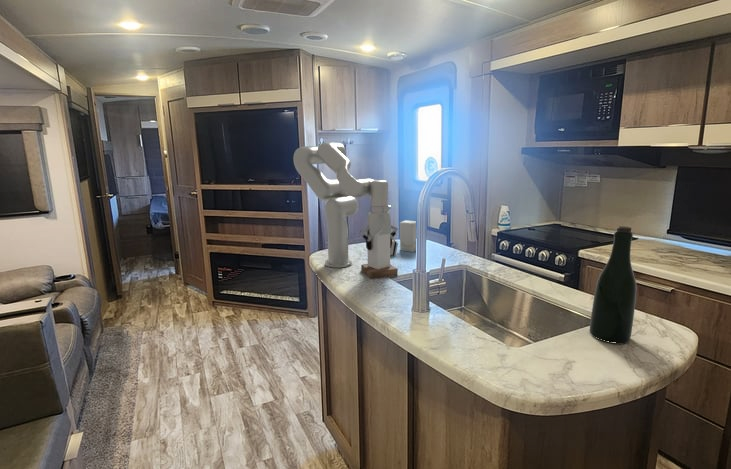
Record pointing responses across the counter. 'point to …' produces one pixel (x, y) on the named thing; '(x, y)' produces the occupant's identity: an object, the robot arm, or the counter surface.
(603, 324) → the dark green wine bottle
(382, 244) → the milk carton
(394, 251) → the grey rounded slab
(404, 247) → the skincare box
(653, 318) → the counter surface
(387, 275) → the walnut stand
